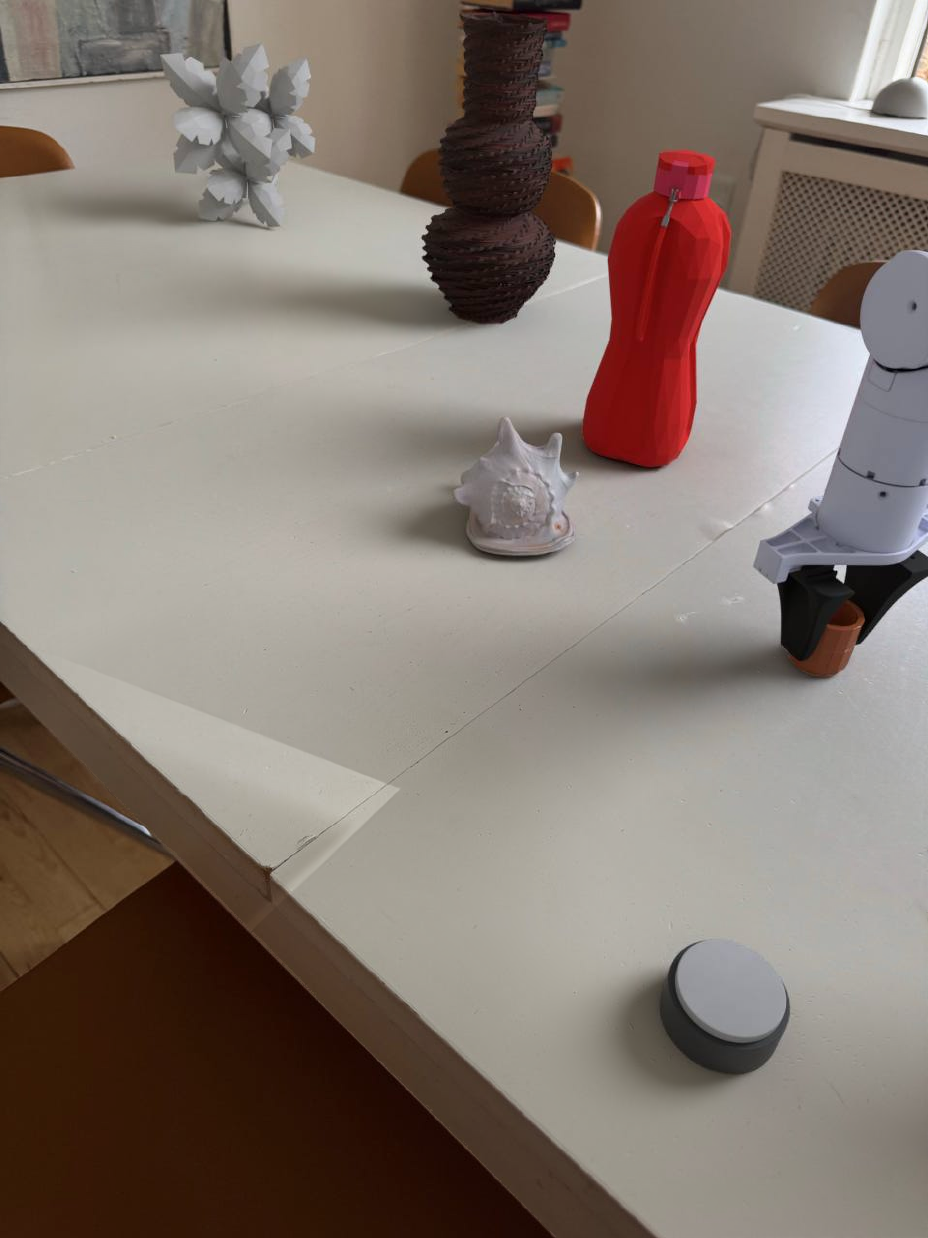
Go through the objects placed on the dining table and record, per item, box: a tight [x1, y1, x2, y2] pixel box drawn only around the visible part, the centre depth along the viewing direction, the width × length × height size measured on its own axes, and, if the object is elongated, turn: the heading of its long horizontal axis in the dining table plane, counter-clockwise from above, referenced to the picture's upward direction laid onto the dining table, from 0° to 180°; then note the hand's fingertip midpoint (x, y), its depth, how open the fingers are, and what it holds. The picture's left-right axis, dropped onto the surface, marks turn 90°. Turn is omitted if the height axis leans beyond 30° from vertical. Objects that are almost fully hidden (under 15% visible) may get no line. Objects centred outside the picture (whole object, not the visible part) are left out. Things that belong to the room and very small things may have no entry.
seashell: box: [451, 416, 580, 556], centre depth 75 cm, size 10×12×9 cm
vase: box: [420, 11, 557, 324], centre depth 106 cm, size 15×15×30 cm
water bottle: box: [581, 149, 732, 469], centre depth 81 cm, size 9×11×25 cm
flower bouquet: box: [159, 42, 316, 228], centre depth 137 cm, size 17×34×21 cm, turn 160°
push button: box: [659, 938, 791, 1075], centre depth 43 cm, size 5×5×2 cm
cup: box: [786, 600, 865, 678], centre depth 64 cm, size 4×4×4 cm
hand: (821, 643), depth 65 cm, fingers closed on cup, 4 cm apart
